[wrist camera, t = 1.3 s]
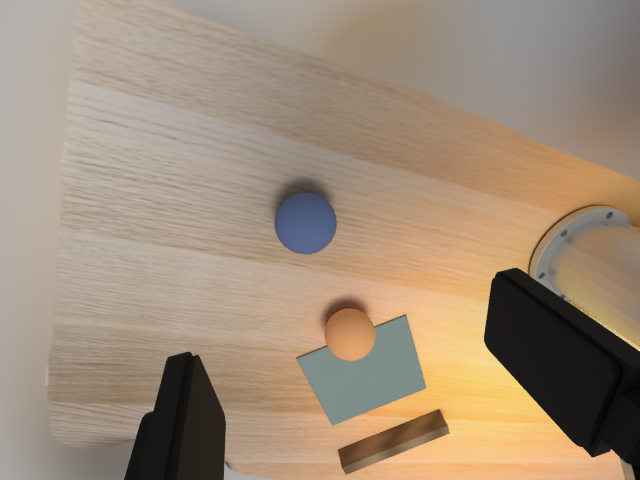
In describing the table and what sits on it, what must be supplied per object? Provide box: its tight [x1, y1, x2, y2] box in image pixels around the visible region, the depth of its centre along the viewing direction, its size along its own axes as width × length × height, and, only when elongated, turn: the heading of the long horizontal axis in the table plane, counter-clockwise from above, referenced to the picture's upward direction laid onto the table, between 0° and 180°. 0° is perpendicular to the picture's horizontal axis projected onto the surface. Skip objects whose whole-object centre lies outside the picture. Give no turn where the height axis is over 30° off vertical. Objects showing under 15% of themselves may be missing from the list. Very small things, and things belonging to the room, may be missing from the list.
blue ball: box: [275, 192, 336, 254], centre depth 29 cm, size 5×5×5 cm
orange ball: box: [325, 308, 375, 361], centre depth 35 cm, size 5×5×5 cm
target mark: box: [296, 315, 426, 426], centre depth 42 cm, size 14×14×1 cm
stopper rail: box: [338, 410, 449, 475], centre depth 48 cm, size 16×2×2 cm, turn 109°
